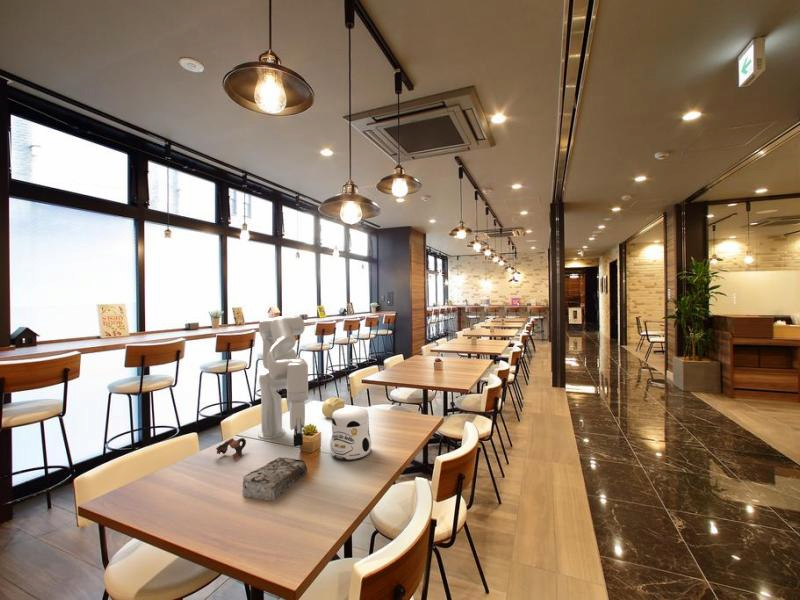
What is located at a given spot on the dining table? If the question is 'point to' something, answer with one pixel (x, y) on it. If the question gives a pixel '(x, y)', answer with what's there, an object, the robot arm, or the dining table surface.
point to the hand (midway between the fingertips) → (298, 444)
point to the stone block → (273, 478)
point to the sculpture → (332, 406)
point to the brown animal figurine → (233, 444)
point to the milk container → (350, 434)
